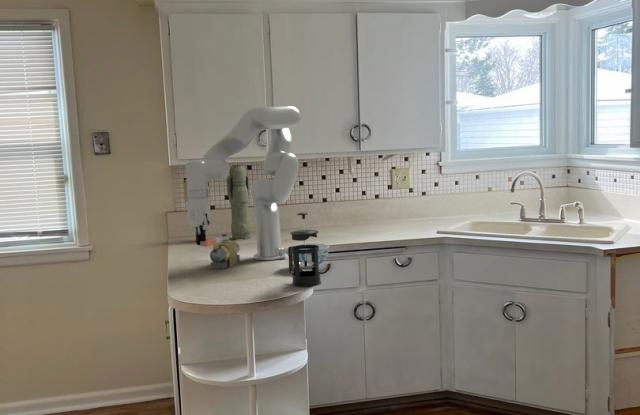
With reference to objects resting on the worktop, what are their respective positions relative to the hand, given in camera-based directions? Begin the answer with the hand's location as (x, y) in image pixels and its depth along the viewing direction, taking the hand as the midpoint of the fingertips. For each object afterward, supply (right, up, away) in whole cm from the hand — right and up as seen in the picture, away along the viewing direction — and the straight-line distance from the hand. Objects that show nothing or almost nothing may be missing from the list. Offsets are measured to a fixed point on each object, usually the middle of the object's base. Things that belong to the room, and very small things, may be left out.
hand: (201, 244), depth 235 cm
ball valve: (+8, -8, +9) cm, 14 cm away
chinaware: (+40, -9, -3) cm, 41 cm away
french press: (+39, -11, -28) cm, 49 cm away
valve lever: (+5, 0, +3) cm, 6 cm away
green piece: (+6, -2, +74) cm, 74 cm away
